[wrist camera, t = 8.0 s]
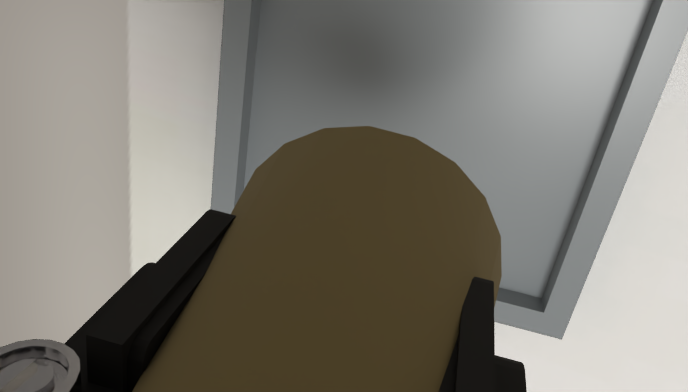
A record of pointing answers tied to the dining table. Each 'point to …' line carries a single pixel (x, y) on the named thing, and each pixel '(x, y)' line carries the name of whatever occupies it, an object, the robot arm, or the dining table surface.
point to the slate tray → (465, 110)
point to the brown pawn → (336, 273)
